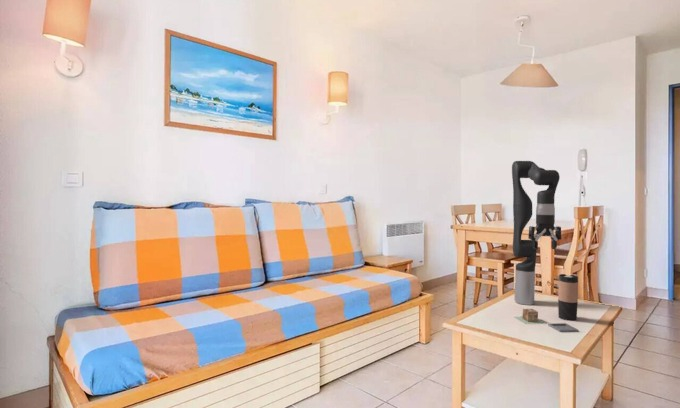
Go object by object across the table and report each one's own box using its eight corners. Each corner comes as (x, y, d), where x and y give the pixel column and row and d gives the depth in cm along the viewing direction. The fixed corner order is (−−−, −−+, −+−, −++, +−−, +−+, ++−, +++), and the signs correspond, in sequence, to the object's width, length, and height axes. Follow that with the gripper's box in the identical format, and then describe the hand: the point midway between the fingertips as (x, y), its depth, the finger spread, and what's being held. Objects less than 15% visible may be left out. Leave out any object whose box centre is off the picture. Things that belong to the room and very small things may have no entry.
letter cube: (522, 318, 174) (522, 308, 174) (532, 318, 174) (532, 308, 174) (528, 322, 169) (528, 311, 169) (537, 321, 170) (538, 311, 170)
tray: (548, 326, 165) (548, 323, 165) (565, 326, 166) (565, 323, 166) (560, 332, 157) (560, 330, 157) (578, 332, 158) (578, 329, 158)
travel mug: (567, 322, 170) (568, 277, 170) (553, 317, 178) (554, 274, 177) (581, 321, 173) (582, 277, 172) (567, 315, 180) (568, 273, 179)
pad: (513, 317, 177) (513, 316, 177) (534, 317, 177) (534, 316, 177) (525, 325, 167) (525, 324, 167) (547, 324, 167) (547, 323, 167)
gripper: (555, 213, 179) (554, 248, 179) (525, 213, 178) (525, 248, 178) (565, 214, 171) (564, 250, 171) (535, 214, 170) (534, 250, 170)
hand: (544, 249), depth 175 cm, fingers open, 8 cm apart
